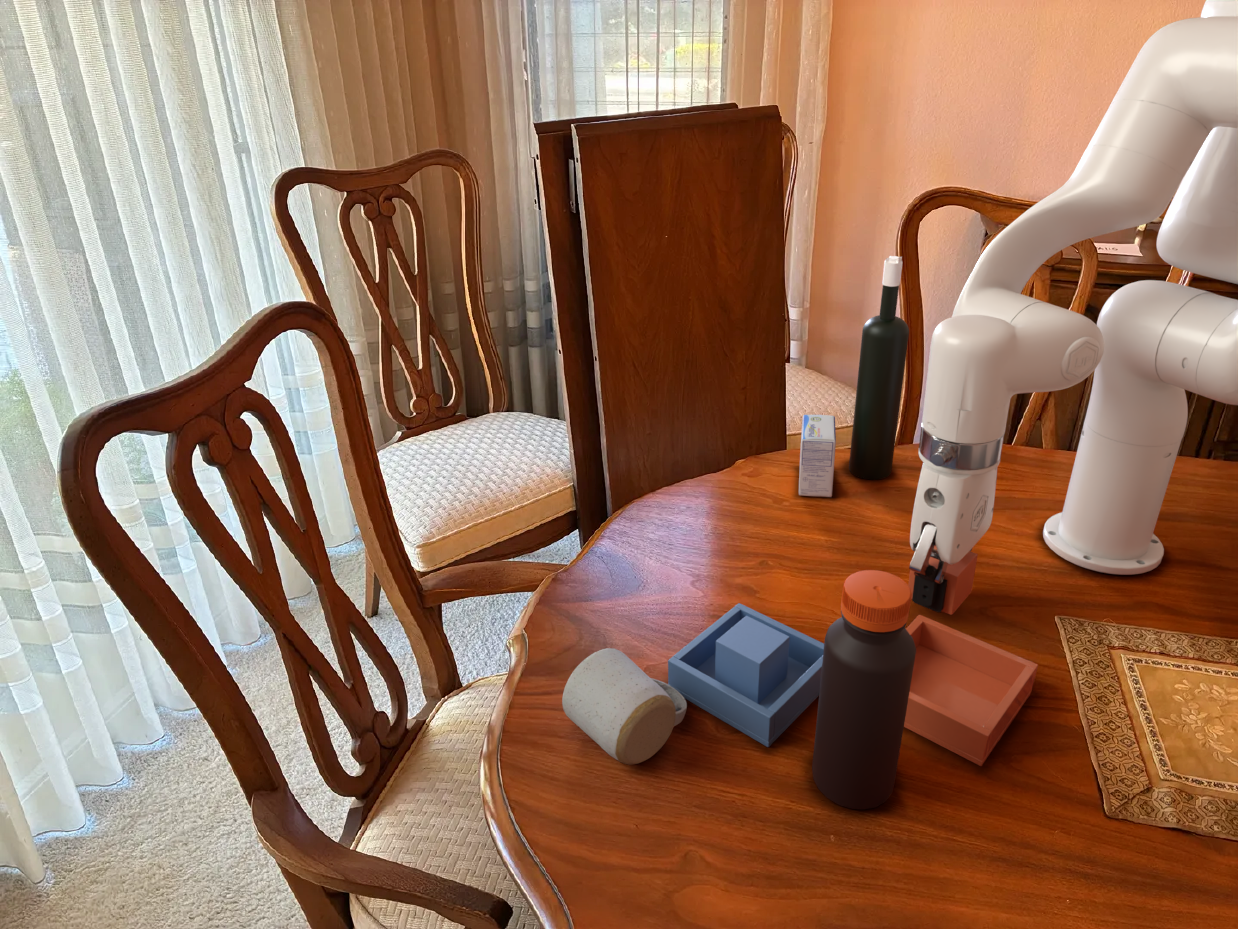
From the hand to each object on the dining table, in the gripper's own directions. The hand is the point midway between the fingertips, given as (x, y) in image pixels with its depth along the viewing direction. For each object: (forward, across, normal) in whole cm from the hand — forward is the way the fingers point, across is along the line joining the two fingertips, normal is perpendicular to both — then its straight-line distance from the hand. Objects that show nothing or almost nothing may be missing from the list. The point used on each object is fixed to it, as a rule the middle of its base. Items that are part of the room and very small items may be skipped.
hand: (939, 591), depth 92 cm
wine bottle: (+3, +23, +20) cm, 31 cm away
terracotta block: (0, 0, 0) cm, 0 cm away
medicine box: (+2, +15, +24) cm, 29 cm away
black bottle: (+1, -27, -5) cm, 27 cm away
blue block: (+1, -23, +8) cm, 25 cm away
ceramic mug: (+1, -35, +13) cm, 37 cm away
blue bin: (+1, -23, +8) cm, 24 cm away
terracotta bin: (+2, -13, -7) cm, 15 cm away
